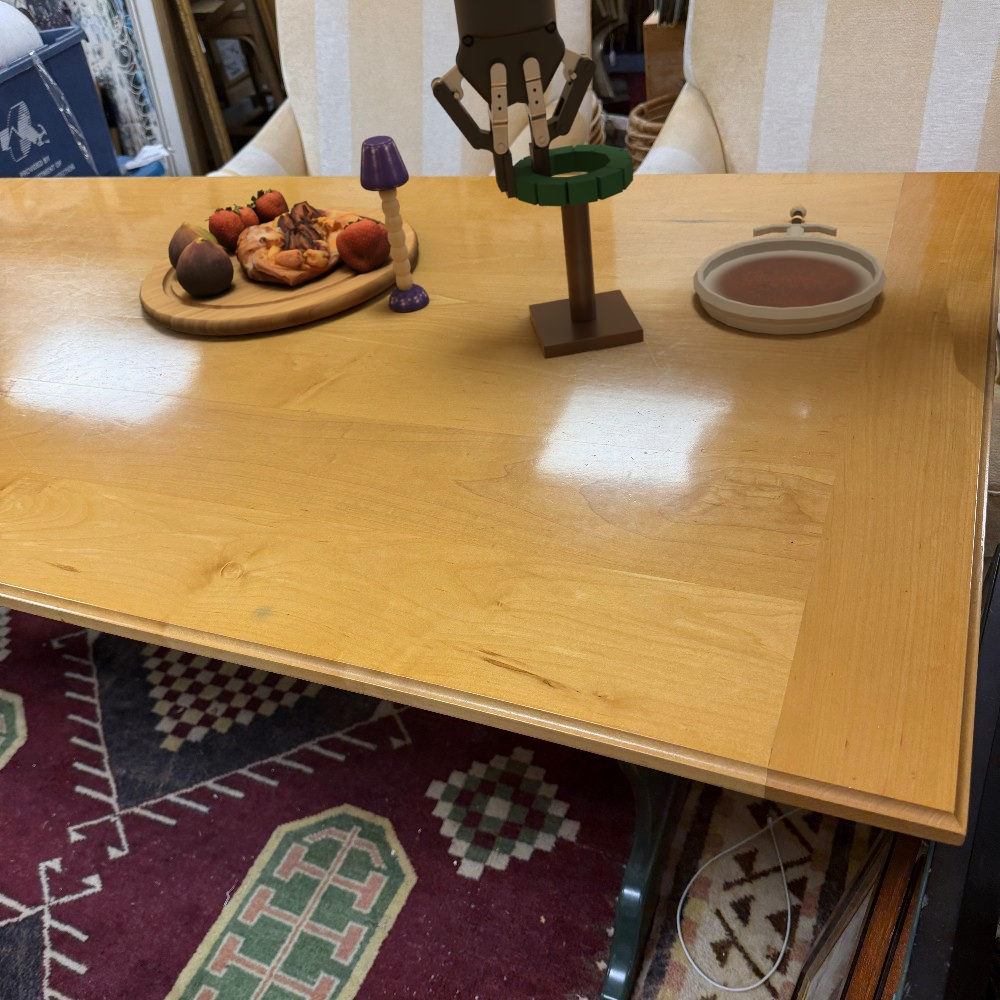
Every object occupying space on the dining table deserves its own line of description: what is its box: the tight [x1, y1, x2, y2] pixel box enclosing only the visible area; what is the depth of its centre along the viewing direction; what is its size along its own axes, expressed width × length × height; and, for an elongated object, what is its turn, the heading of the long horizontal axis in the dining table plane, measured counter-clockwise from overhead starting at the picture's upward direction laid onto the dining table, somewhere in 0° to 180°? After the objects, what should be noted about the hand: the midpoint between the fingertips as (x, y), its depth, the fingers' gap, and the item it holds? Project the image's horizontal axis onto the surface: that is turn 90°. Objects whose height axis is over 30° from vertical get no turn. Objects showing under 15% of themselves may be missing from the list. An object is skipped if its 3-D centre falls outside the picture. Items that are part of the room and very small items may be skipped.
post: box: [528, 203, 645, 359], centre depth 81 cm, size 9×9×13 cm
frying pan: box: [692, 204, 887, 336], centre depth 88 cm, size 17×3×28 cm
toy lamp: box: [359, 135, 430, 313], centre depth 89 cm, size 5×5×17 cm
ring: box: [513, 144, 634, 207], centre depth 76 cm, size 10×10×2 cm
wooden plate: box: [138, 187, 420, 336], centre depth 103 cm, size 32×32×8 cm
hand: (525, 192), depth 77 cm, fingers closed on ring, 2 cm apart
